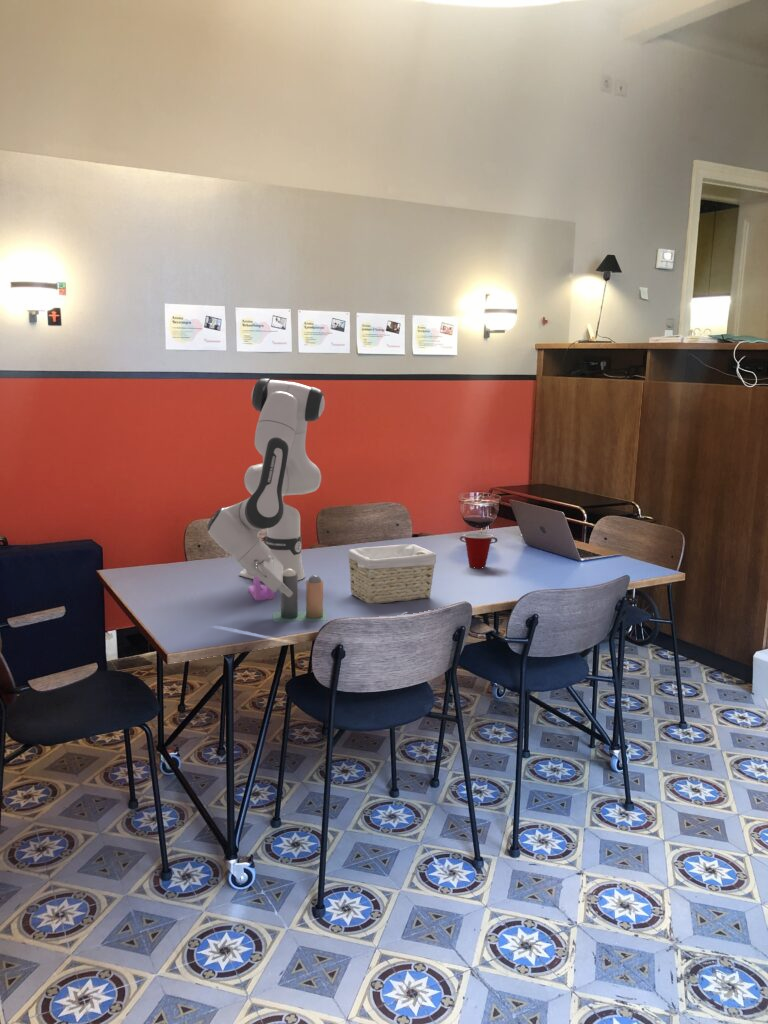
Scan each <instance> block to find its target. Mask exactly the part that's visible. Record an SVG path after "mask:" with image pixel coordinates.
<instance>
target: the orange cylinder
mask: <svg viewBox="0 0 768 1024" xmlns="http://www.w3.org/2000/svg"><path fill="white" fill-rule="evenodd" d="M305 584H306V585H305V611H306V617H309V618H320V617H322V616H323V611H324V580H322V578H321V577H320V576H319V575H317V574H313V575H311V576H309V578H308V579H307V580H306V581H305Z"/></svg>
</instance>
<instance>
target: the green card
mask: <svg viewBox="0 0 768 1024" xmlns="http://www.w3.org/2000/svg"><path fill="white" fill-rule="evenodd" d="M272 615H273V617H272V618H273V619H272V621H273V623H274V622H275V623H280V622H282V623H285V622H319V621H321V622H322V621H323V622H324V621H328V617H327V616H328V615H327V610H323V616H322V617H320V618H309V617H306V610H298V617H296V618H292V619H286V618H282V617H281V611H273V614H272Z"/></svg>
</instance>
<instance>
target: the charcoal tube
mask: <svg viewBox="0 0 768 1024" xmlns="http://www.w3.org/2000/svg"><path fill="white" fill-rule="evenodd" d="M283 583H284V584H285V585H286V586H287V587H288V588H290V589H291V590H292V591H293V595H291V596H290V597H287V596H286V595H285V594H284V593H282V592H280V612H281V617H282V618H286V619H292V618H296V617H298V611H299V580H298V574H296V573H295V571H294V570H293V569H290V568H288V569H286V570H285V571H284V572H283Z"/></svg>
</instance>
